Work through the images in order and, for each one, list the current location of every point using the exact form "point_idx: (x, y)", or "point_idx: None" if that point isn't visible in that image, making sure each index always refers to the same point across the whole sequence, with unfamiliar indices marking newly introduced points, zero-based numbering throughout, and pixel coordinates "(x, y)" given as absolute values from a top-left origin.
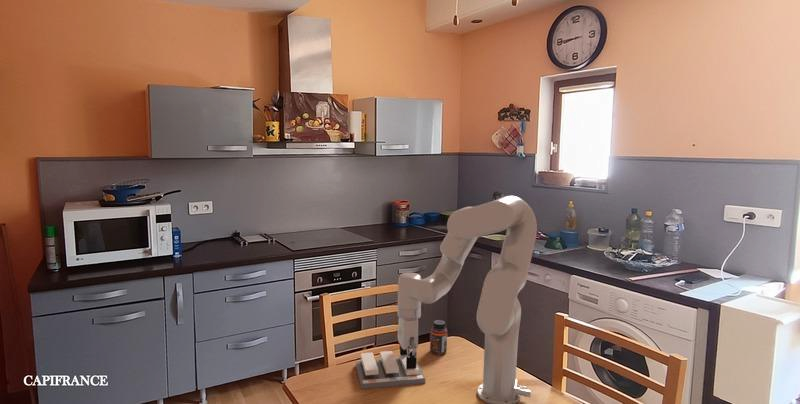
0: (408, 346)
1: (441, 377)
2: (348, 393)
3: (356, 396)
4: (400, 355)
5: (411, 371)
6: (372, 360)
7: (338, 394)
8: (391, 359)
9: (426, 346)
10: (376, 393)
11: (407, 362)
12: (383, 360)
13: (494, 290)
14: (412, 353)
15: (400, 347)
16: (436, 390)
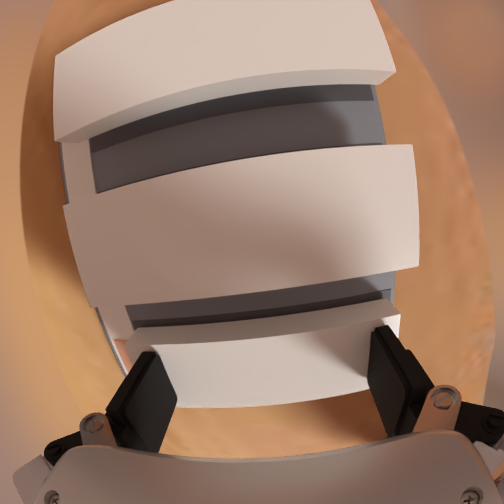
0: (385, 422)
1: (203, 438)
2: (56, 39)
3: (33, 77)
4: (371, 325)
5: None
6: (208, 58)
7: (60, 12)
8: (228, 256)
9: (471, 391)
10: (39, 155)
11: (127, 384)
12: (207, 169)
13: None
14: (41, 456)
15: (399, 366)
16: (104, 400)
